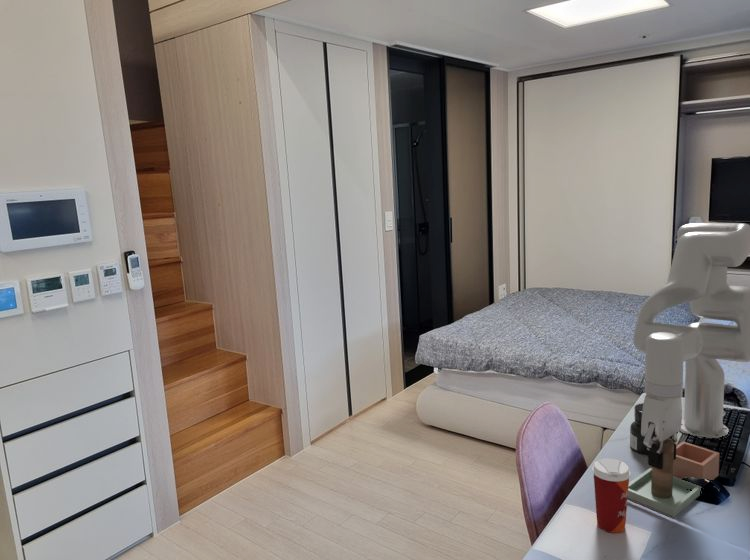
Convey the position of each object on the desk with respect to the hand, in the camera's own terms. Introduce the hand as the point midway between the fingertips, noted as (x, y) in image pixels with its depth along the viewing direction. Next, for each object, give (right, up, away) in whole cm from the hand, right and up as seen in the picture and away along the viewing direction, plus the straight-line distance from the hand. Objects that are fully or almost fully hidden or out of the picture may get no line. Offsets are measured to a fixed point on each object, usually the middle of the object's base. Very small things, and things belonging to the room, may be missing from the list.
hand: (662, 461), depth 131 cm
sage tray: (+1, -9, +2) cm, 9 cm away
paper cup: (-15, -12, -7) cm, 20 cm away
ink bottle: (+8, -4, +23) cm, 25 cm away
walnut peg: (+1, -8, +1) cm, 8 cm away
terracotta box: (+12, -7, +8) cm, 16 cm away
